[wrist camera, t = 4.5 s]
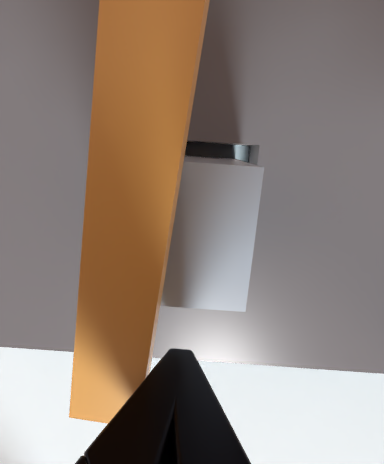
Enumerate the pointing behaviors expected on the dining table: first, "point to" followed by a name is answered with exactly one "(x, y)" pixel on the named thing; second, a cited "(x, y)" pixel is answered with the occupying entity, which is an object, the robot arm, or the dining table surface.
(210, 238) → the plug
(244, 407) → the dining table surface
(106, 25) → the long orange beam
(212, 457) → the robot arm
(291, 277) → the socket board
